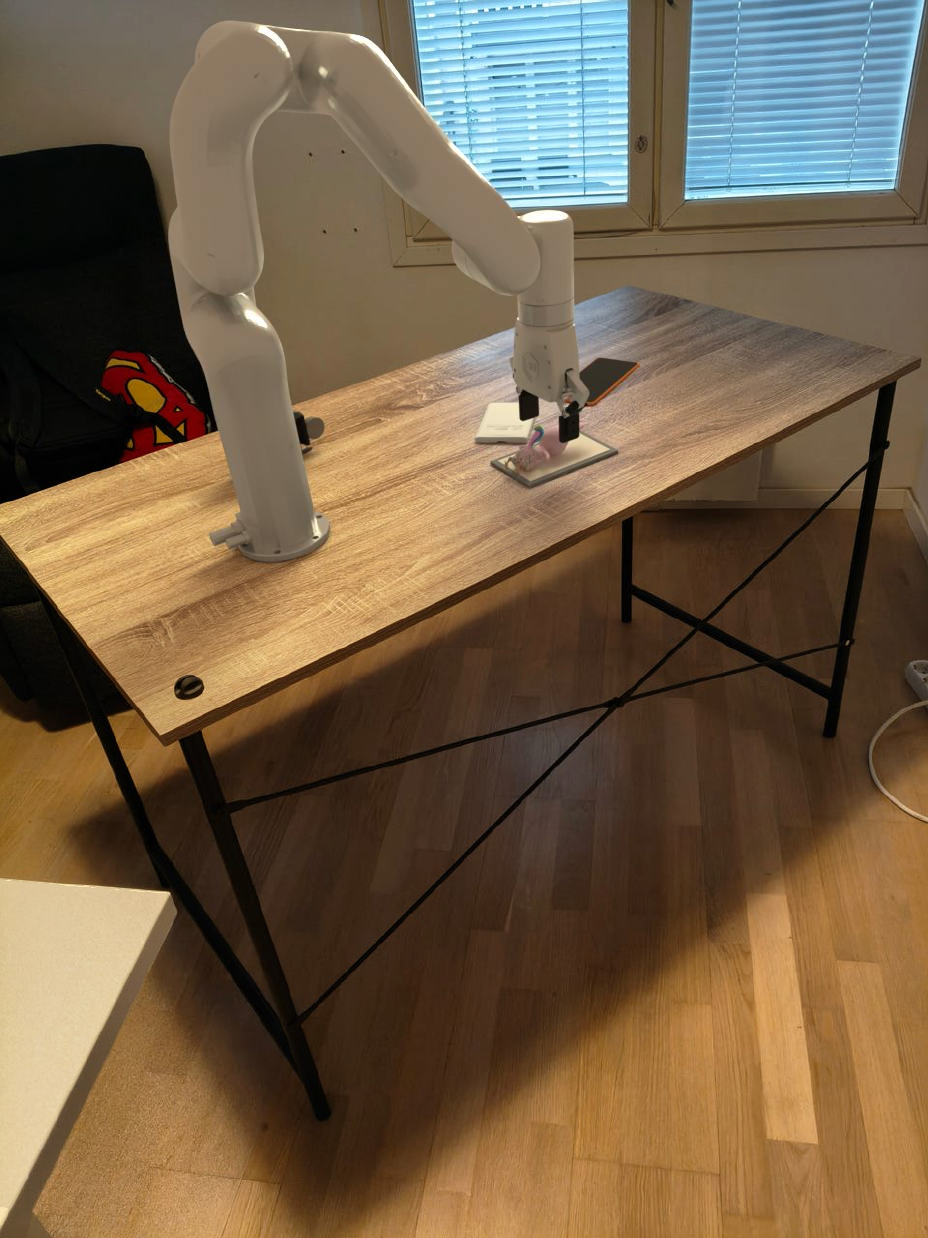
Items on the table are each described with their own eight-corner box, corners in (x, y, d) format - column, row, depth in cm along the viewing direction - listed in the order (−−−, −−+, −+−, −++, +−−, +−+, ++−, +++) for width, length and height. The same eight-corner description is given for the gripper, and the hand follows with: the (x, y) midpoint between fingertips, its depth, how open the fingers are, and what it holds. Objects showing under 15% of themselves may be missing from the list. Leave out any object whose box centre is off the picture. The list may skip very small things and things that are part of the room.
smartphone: (640, 366, 166) (641, 361, 166) (593, 409, 154) (593, 403, 154) (597, 360, 170) (597, 355, 170) (547, 401, 158) (547, 395, 158)
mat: (529, 487, 134) (529, 484, 134) (490, 463, 141) (490, 460, 141) (618, 452, 140) (618, 449, 140) (576, 430, 147) (576, 427, 147)
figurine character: (301, 445, 156) (226, 474, 147) (295, 400, 152) (218, 426, 143) (329, 455, 153) (254, 485, 143) (324, 408, 149) (246, 436, 139)
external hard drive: (538, 411, 156) (527, 445, 146) (489, 411, 158) (475, 445, 148) (538, 402, 155) (527, 436, 145) (488, 402, 157) (474, 436, 147)
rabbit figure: (528, 489, 136) (600, 437, 141) (520, 454, 132) (595, 402, 137) (499, 475, 140) (570, 425, 145) (491, 441, 136) (564, 391, 141)
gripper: (487, 302, 133) (494, 417, 143) (562, 333, 120) (563, 457, 130) (531, 290, 136) (535, 403, 145) (608, 319, 123) (607, 441, 133)
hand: (548, 428), depth 138 cm, fingers open, 9 cm apart
